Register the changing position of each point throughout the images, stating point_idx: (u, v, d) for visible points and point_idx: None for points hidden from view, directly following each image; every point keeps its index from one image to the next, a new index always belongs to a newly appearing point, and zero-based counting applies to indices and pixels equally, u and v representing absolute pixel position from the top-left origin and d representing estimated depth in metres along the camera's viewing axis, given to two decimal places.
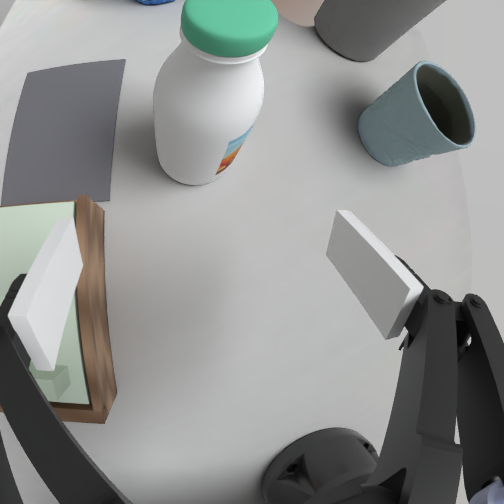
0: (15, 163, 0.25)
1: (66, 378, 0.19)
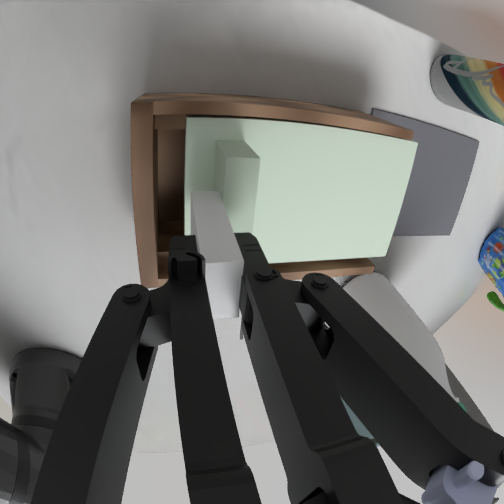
0: None
1: None
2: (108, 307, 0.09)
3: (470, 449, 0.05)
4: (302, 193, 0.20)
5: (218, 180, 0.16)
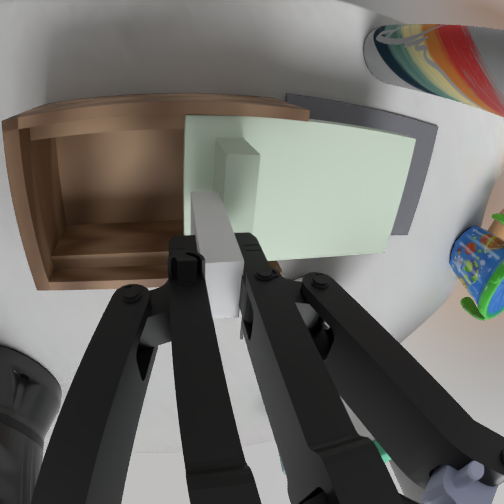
0: (338, 117, 0.24)
1: None
2: (108, 307, 0.09)
3: (470, 449, 0.05)
4: (301, 190, 0.20)
5: (218, 177, 0.16)
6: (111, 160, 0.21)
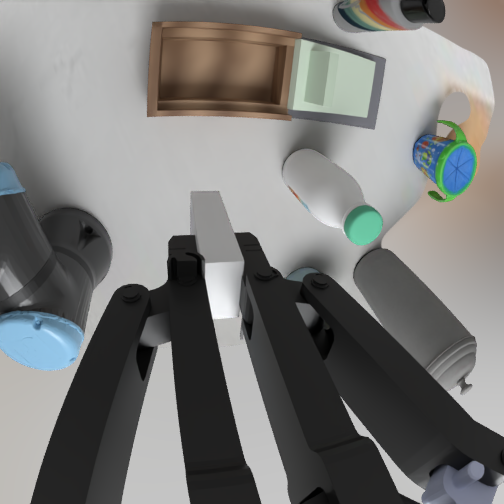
0: None
1: None
2: (108, 307, 0.09)
3: (470, 449, 0.05)
4: (336, 78, 0.38)
5: (317, 64, 0.34)
6: (194, 61, 0.36)
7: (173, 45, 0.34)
